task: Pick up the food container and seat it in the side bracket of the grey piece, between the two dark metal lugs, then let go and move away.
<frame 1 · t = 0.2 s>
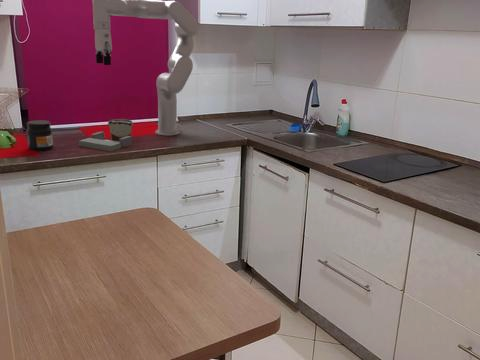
hand: (103, 64, 226), 36 cm above the counter, tool pointing down, fingers open, 9 cm apart
grey piece: (105, 145, 224), on the counter
supplement container: (41, 148, 215), on the counter
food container: (123, 140, 236), on the counter
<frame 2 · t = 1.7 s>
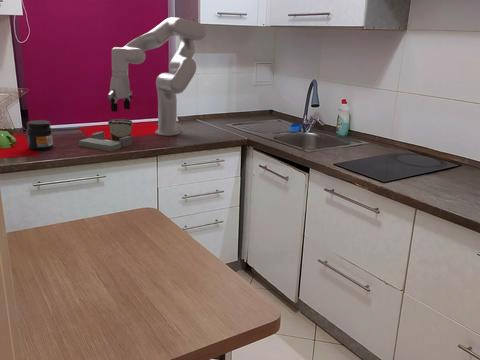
hand: (120, 110, 231), 15 cm above the counter, tool pointing down, fingers open, 9 cm apart
nothing on the counter moved.
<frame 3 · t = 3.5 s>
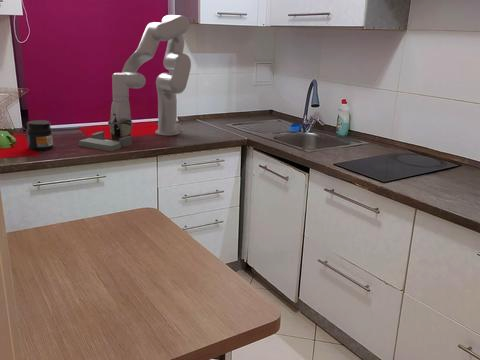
hand: (121, 135, 235), 2 cm above the counter, tool pointing down, fingers closed on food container, 5 cm apart
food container: (123, 140, 236), on the counter, touching gripper
everything else where it was.
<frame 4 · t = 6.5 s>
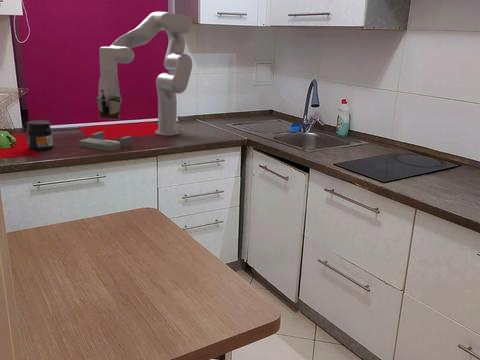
hand: (110, 113, 224), 15 cm above the counter, tool pointing down, fingers closed on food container, 5 cm apart
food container: (112, 118, 225), point 12 cm above the counter, touching gripper
everything else where it was.
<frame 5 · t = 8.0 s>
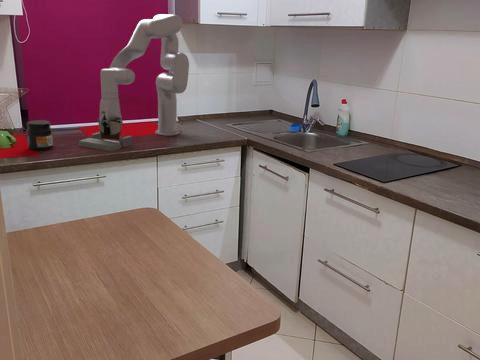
hand: (111, 133, 227), 5 cm above the counter, tool pointing down, fingers closed on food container, 5 cm apart
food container: (112, 138, 228), point 2 cm above the counter, touching gripper
everything else where it was.
when the fingers open (4 cm above the counter, at t = 9.1 s): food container moves 1 cm, resting on grey piece.
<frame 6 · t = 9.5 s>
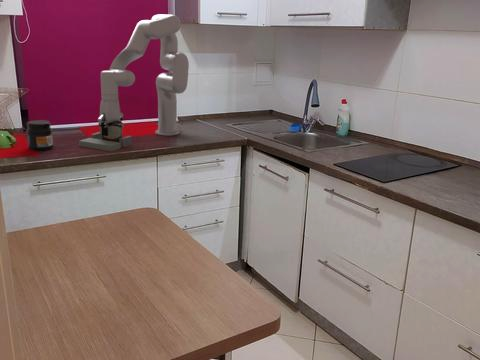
hand: (111, 133, 227), 5 cm above the counter, tool pointing down, fingers open, 9 cm apart
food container: (114, 141, 230), resting on grey piece, touching gripper
everything else where it was.
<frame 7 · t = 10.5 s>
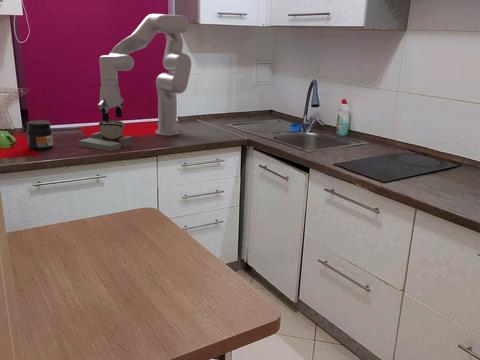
hand: (112, 119, 225), 12 cm above the counter, tool pointing down, fingers open, 9 cm apart
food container: (114, 142, 230), resting on grey piece
everything else where it was.
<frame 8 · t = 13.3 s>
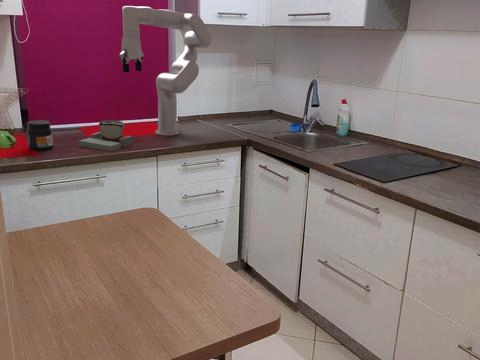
hand: (132, 71, 227), 33 cm above the counter, tool pointing down, fingers open, 9 cm apart
nothing on the counter moved.
at the end: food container inside the target area on the grey piece (1.8 cm from its centre), point 0.1 cm above the grey piece's base; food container tilted 0°; the gripper is holding nothing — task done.
